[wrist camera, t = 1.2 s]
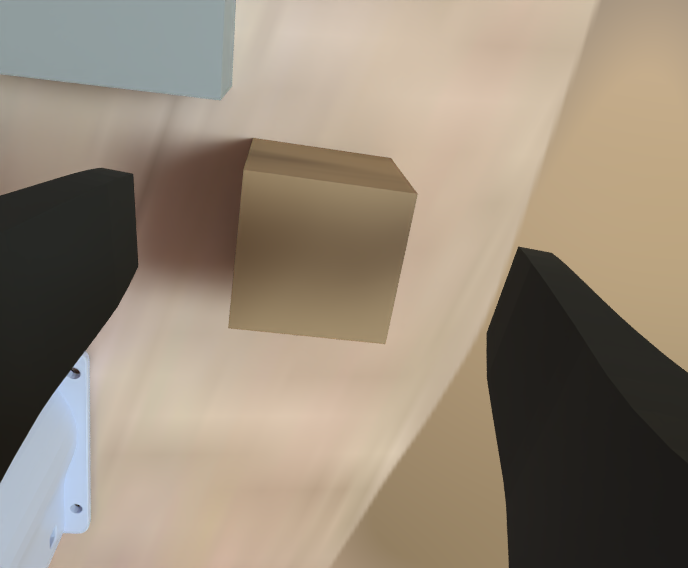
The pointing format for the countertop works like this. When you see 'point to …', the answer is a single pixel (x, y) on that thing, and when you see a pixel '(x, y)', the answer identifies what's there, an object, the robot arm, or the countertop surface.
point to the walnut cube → (319, 242)
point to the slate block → (122, 43)
